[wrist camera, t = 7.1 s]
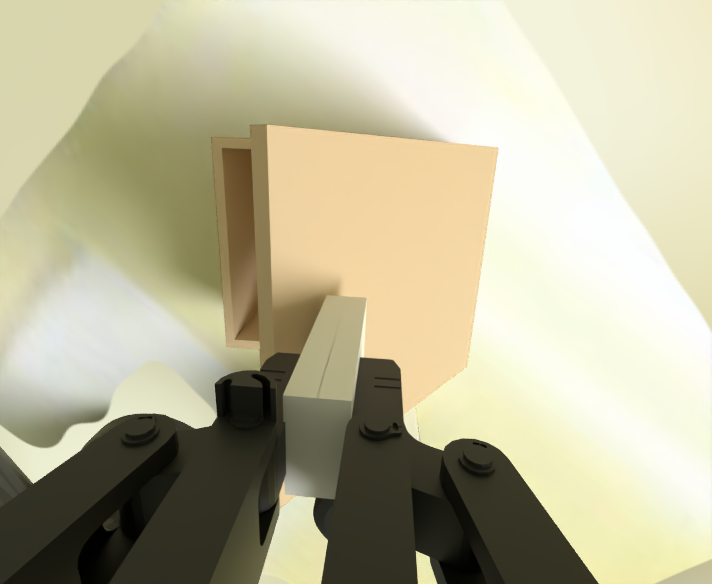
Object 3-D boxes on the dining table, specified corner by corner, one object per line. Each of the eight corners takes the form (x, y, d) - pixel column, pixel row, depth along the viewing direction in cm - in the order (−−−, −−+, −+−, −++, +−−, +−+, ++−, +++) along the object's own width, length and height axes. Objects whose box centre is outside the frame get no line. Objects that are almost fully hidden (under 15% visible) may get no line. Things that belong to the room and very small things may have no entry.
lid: (266, 497, 16) (278, 508, 16) (250, 125, 12) (266, 124, 11) (456, 362, 28) (467, 366, 27) (485, 147, 23) (498, 147, 23)
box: (256, 311, 35) (226, 346, 29) (248, 141, 31) (211, 136, 24) (439, 322, 34) (452, 361, 28) (459, 149, 30) (480, 147, 23)
